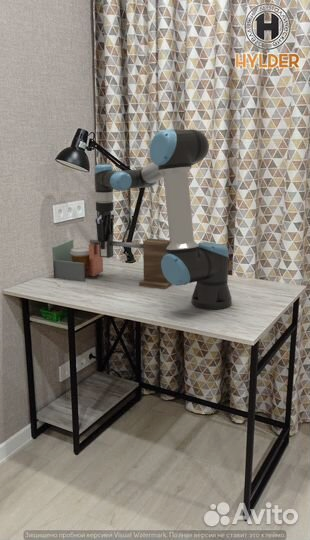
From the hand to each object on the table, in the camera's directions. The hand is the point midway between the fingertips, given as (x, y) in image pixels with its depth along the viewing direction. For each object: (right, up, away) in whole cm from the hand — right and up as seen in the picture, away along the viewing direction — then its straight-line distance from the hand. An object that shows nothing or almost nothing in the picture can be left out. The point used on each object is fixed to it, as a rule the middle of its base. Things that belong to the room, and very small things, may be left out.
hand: (106, 254), depth 233 cm
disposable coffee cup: (-12, -9, +7) cm, 16 cm away
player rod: (+6, -9, 0) cm, 11 cm away
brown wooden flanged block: (+23, -12, -6) cm, 26 cm away
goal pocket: (-14, -9, +8) cm, 18 cm away
